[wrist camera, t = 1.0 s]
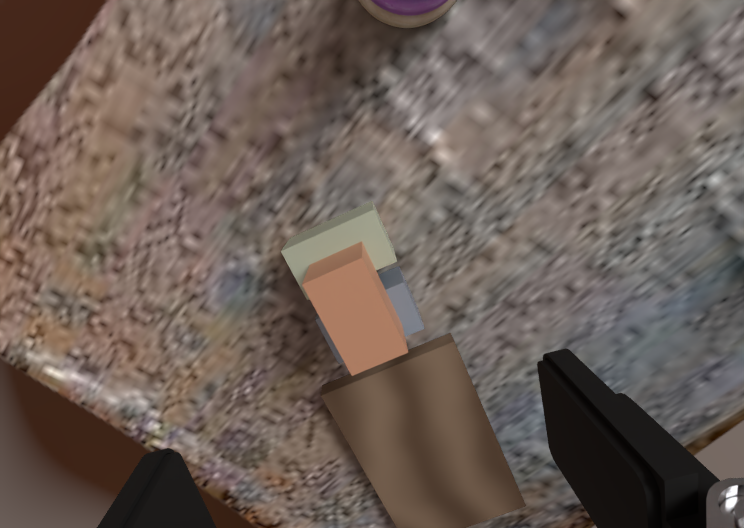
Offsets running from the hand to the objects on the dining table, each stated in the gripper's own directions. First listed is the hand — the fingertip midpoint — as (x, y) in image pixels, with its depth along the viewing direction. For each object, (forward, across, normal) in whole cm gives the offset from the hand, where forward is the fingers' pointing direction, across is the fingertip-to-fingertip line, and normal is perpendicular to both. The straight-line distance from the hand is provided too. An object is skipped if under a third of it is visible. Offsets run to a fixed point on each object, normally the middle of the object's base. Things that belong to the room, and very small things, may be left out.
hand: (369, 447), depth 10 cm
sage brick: (+23, +1, 0) cm, 23 cm away
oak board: (+22, -2, +20) cm, 30 cm away
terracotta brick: (+19, +1, +3) cm, 19 cm away
